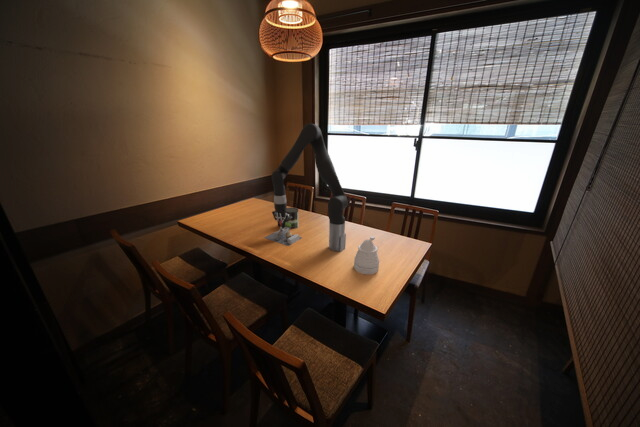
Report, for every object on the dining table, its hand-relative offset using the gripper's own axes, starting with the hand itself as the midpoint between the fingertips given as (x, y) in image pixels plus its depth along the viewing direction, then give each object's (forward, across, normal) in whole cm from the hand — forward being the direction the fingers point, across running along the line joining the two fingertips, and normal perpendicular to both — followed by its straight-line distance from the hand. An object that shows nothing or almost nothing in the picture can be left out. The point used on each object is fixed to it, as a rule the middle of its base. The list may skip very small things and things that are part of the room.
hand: (281, 227), depth 160 cm
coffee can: (+9, +7, -18) cm, 21 cm away
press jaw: (+7, 0, 0) cm, 7 cm away
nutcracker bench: (+9, -1, 0) cm, 9 cm away
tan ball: (+4, -6, 0) cm, 7 cm away
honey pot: (+9, -59, 0) cm, 60 cm away
